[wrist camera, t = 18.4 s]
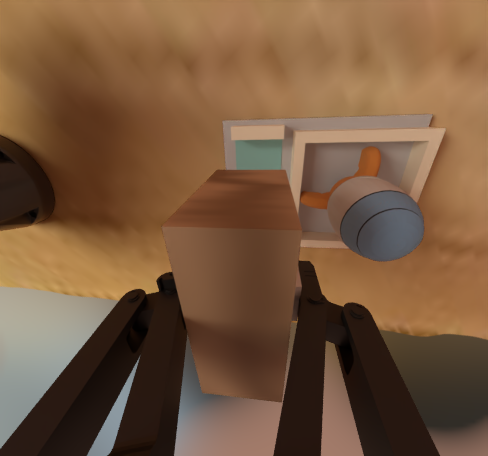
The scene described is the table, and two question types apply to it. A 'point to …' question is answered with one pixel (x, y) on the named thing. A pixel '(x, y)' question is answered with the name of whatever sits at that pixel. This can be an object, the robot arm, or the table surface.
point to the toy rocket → (371, 212)
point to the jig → (333, 157)
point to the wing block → (237, 279)
